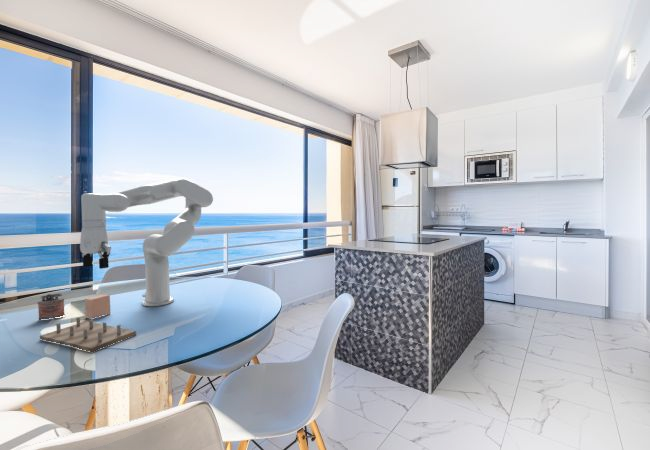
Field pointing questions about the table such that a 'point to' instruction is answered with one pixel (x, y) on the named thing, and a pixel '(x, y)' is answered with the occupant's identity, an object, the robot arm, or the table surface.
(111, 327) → the rack
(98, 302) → the salmon pink block
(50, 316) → the lighter
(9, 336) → the table surface
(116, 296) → the table surface
